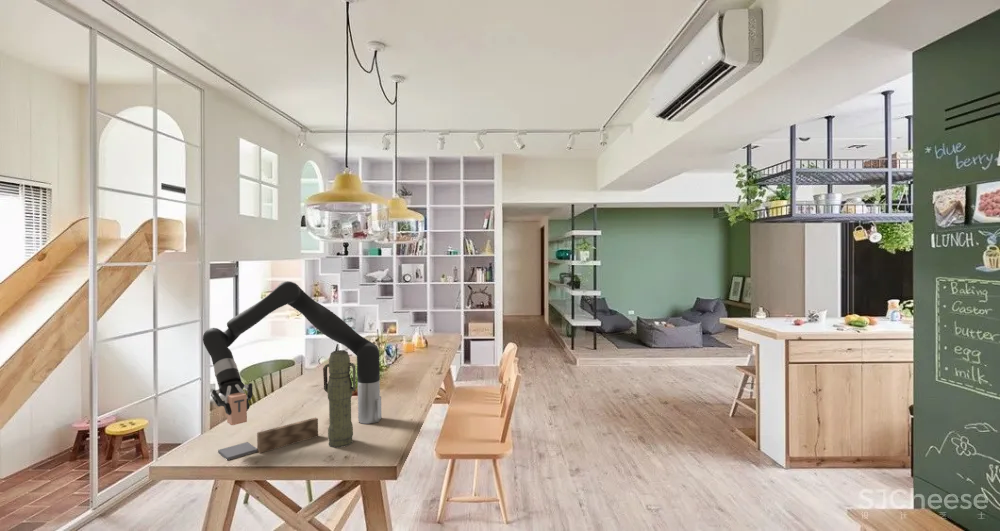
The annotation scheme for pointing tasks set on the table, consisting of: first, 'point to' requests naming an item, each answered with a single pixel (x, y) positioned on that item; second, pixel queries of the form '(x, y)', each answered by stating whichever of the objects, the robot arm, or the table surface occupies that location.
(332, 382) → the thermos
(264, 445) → the walnut screen
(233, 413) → the marked block
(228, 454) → the charcoal mat
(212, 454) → the table surface
